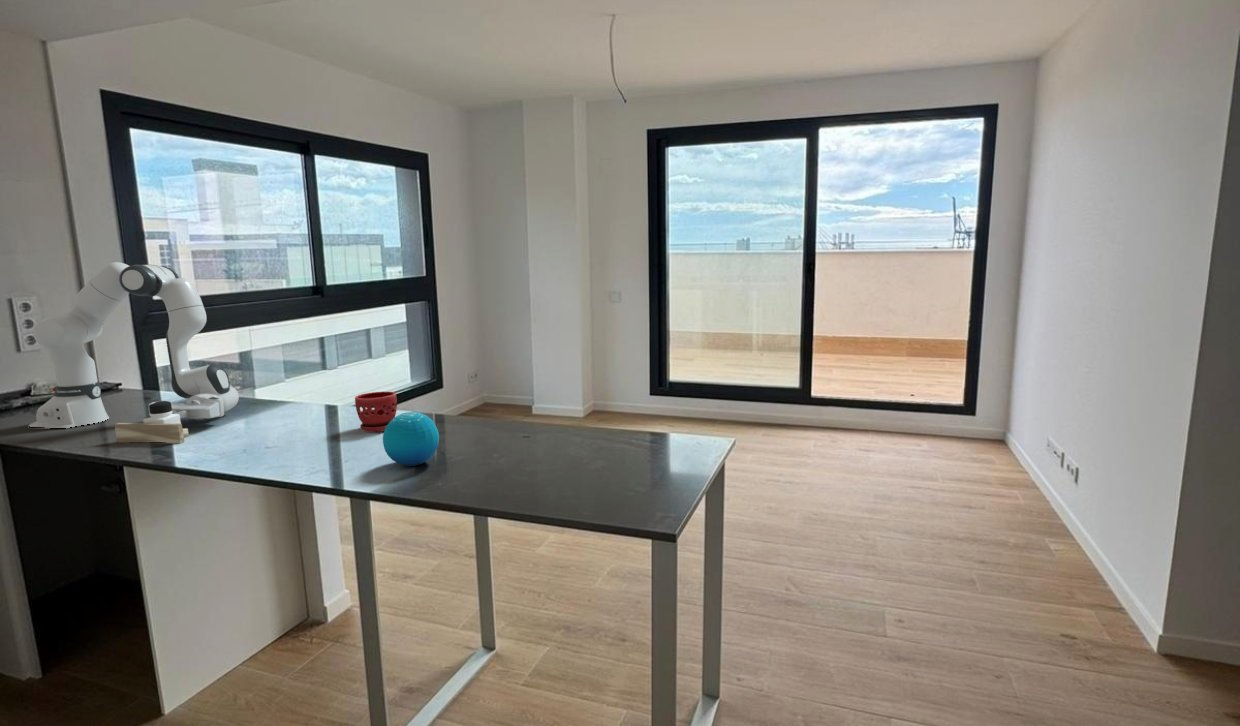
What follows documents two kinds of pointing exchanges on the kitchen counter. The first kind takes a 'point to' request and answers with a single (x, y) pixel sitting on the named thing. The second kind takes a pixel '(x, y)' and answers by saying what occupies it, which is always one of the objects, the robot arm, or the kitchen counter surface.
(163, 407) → the medicine bottle
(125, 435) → the wooden bay
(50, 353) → the robot arm
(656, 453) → the kitchen counter surface
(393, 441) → the decorative orb
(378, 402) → the plant pot
